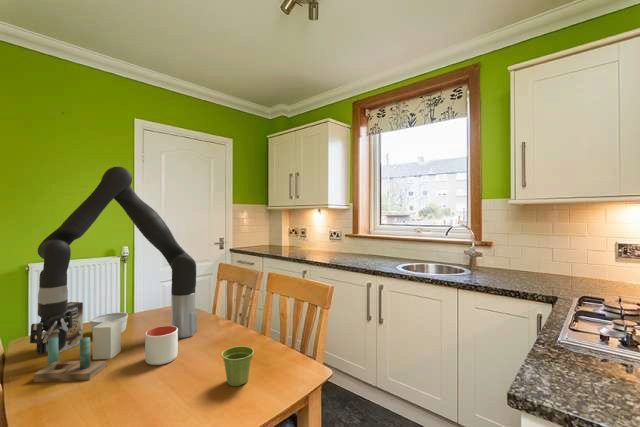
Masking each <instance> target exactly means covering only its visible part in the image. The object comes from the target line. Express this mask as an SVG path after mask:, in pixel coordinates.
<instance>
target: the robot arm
mask: <svg viewBox="0 0 640 427" xmlns="http://www.w3.org/2000/svg"><path fill="white" fill-rule="evenodd" d="M132 176H133V175H132V173H131V172H130V170H128V169H127V168H125V167H122V166H112V167H110V168H108V169H107V170H105V172H104V173H103V175H102V176H101V179H100V182H99V184H98V185H97V186H96V188H95V189H94V190H93V191H92V192H91V193H90V195H89V196H88V197H87V198H86V199H85V200H84V201H82V202H81V203H80V205H79V206H77V207H76V209H74V210H73V212H71V214H70V215H69V216H68V217H67V218H65V220H64V221H63V222H62V223H61V225H60V226H59V227H58V228H56V229H55V230H54V231H52V232H51V233H50V234H49V235H48V236H46V238H45V239H44V240H42V241H41V242H40V244H39V245H38V246H37V255H38V256H39V257H40V258H41V259H43V269H41V271H39V272H40V273H39V280H38V281H39V283H38V284H39V286H38V287H39V288H38V294H37V316H38V317H40V321H39V322H36V323H32V324H31V325H30V337H29V343H30V344H36V355H39V356H40V355H42V356H43V355H45V354H46V353H47V352H46V340H47V338H48V336H50V335H51V333H52V332H53V331H54V330H56V329H57V330H58V331H59V333H58V343H59V344H64V343H66V339H67V331H68V329H69V328H71V327H72V312H71V311H67V310H68V302H69V300H68V299H69V298H68V297H69V289H68V270H69V266H70V261H71V252H72V251H71V247H70V245H71V244H72V243H73V242H74V241H76V240H78V239H80V238H82V237H83V235H85V233H86V232H87V231H89V229H90V227H92V225H93V224H94V223H95V222H96V220H97V219H98V218H99V216H100V215H101V213H103V211H104V210H105V209H106V208H107V206H109V203H111V202H112V201H113V200H114V201H116V203H118V205H120V207H121V208H122V209H123V211H124V212H125V213H126V215H127V216H128V217H129V219H130V221H132V223H133V224H134V225H135V227H136V228H137V229H138V231H139V233H141V235H142V236H143V237H144V238H145V239H146V241H148V242H149V244H151V245H152V246H153V247H155V248H156V249H157V250H158V251H159V252H160V253H161V255H162V256H163V257H164V259H165V260H166V262H167V263H168V265H169V267H170V269H171V290H170V291H171V295H170V296H171V299H170V300H171V301H170V302H171V303H170V304H171V310H170V311H171V314H170V315H171V320H170V321H171V322H170V323H171V324H170V326H175V327H177V328H178V339H185V338H189V337H193V336H194V335H195V334H196V333H197V332H198V309H197V308H196V287H197V263H196V261H195V259H194V258H193V257H192V256H191V255H190V254H189V253H188V252H186V251H185V250H184V249H183V247H181V246H180V244H179V243H178V241H177V240H176V238H175V237H174V234H173V233H172V231H171V230H170V228H169V227H168V225H167V223H166V222H165V220H163V219H162V217H161V215H160V214H159V213H158V212H157V211H156V210H154V209H153V208H152V207H151V206H150V205H149V204H147V203H146V202H145V201H144V200H142V199H141V198H140V197H139V195H137V193H136V192H135V190H134V189H133V187H132V186H131V184H132V182H133V177H132ZM66 322H68V325H67V324H66Z"/></svg>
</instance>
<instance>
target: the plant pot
mask: <svg viewBox="0 0 640 427" xmlns="http://www.w3.org/2000/svg"><path fill="white" fill-rule="evenodd" d="M254 353H255V350H254V348H253V347H250V346H246V345H237V346H231V347H228V348H226V349H225V350H223V351H222V352H221V353H220V354H221V358H222V359H223V362H224V369H225V376H226V382H227V384H228V385H229V386H232V387H240V386H241V385H245V384H246V383H247V382H248V381H249V376H250V375H249V374H250V368H251V363H252V358H253V355H254Z"/></svg>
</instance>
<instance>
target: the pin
mask: <svg viewBox="0 0 640 427" xmlns="http://www.w3.org/2000/svg"><path fill="white" fill-rule="evenodd" d="M55 361H59V353H58V337H55V338H50V339H48V352H47V366H48V365H50V364H51V363H53V362H55Z"/></svg>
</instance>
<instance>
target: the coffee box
mask: <svg viewBox="0 0 640 427" xmlns="http://www.w3.org/2000/svg"><path fill="white" fill-rule="evenodd" d="M83 304H84V302H80V301H68V310H67V311H71V312H72V327H71V328H69V329H68V331H67V339H66V343H64V344H59V343H58V354H60V353H62V352H65V351H68V350H70V349H72V348H75V347H77V346H80V339H81V338H83V334H84V333H83V332H84V331H83V330H84V329H83V328H84V326H83V324H84V323H83V320H84V319H83V316H84V315H83V314H84V312H83V310H84V305H83ZM66 324H67V325H68V322H66ZM58 333H59V331H58V330H57V329H56V330H54V331H53V332H52V333H51V335H50V336H48V338H47V340H46V353H48V339H50V338H55V337H58Z"/></svg>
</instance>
